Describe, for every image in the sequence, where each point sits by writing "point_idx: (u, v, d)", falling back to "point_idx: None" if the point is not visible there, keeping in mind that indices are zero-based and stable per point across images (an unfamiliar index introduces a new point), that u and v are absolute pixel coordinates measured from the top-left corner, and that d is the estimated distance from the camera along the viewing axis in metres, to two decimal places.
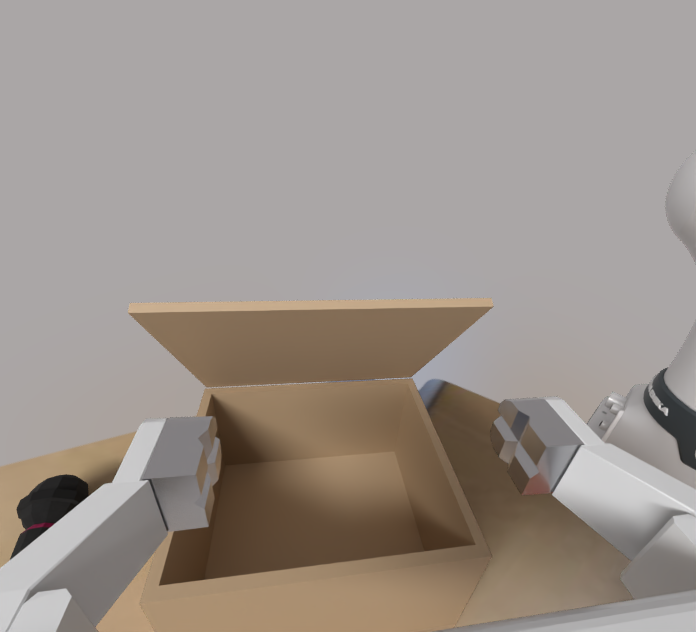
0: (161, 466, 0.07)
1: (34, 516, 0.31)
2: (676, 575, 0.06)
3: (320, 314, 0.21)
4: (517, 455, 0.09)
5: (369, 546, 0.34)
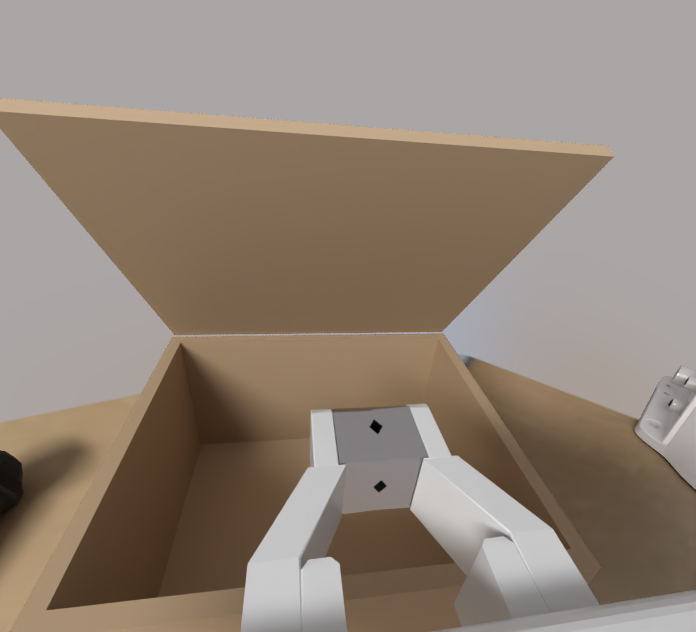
0: (350, 452, 0.07)
1: None
2: (483, 604, 0.06)
3: (332, 154, 0.13)
4: None
5: (388, 551, 0.25)
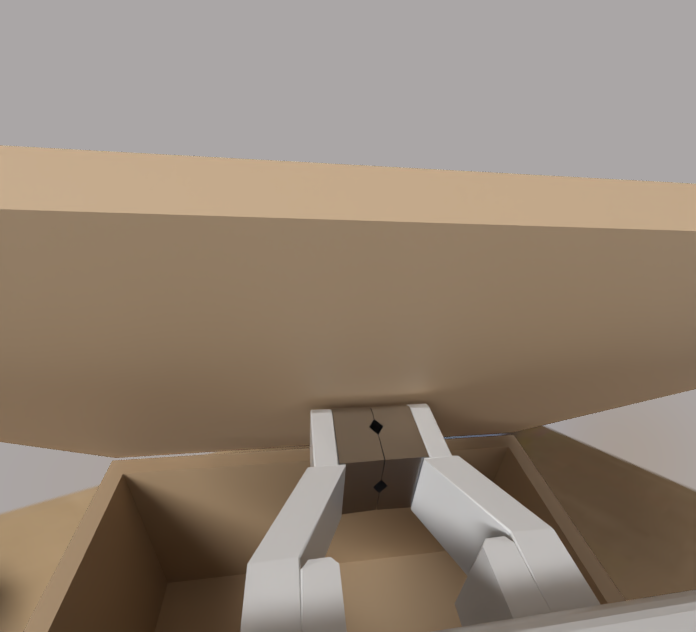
0: (350, 452, 0.07)
1: None
2: (484, 604, 0.06)
3: (447, 273, 0.03)
4: None
5: None
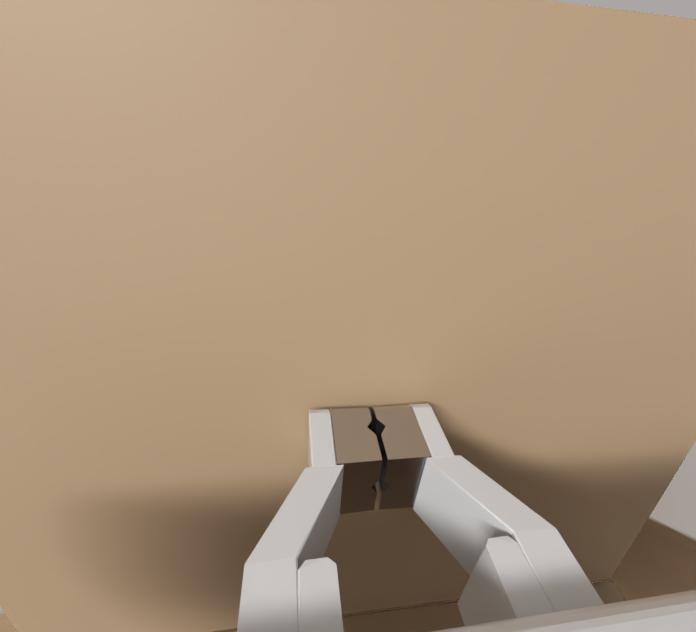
0: (348, 452, 0.07)
1: None
2: (487, 603, 0.06)
3: (398, 41, 0.06)
4: None
5: None
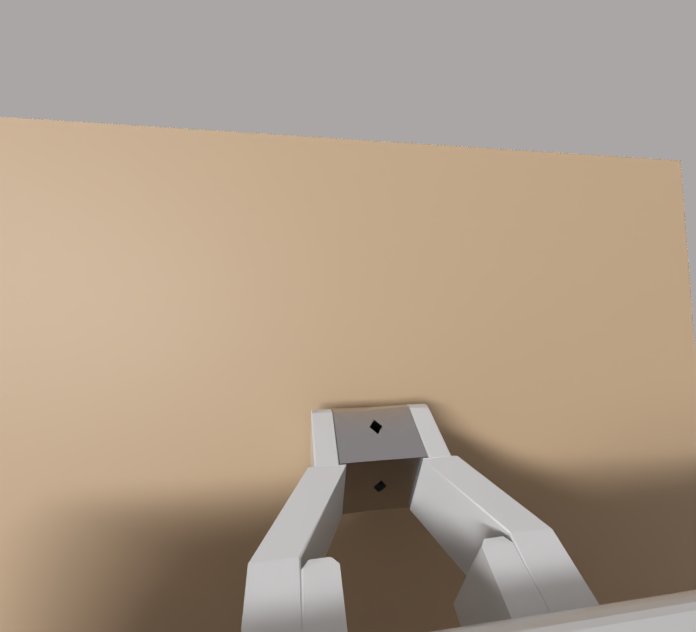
0: (351, 452, 0.07)
1: None
2: (482, 604, 0.06)
3: (355, 164, 0.10)
4: None
5: None
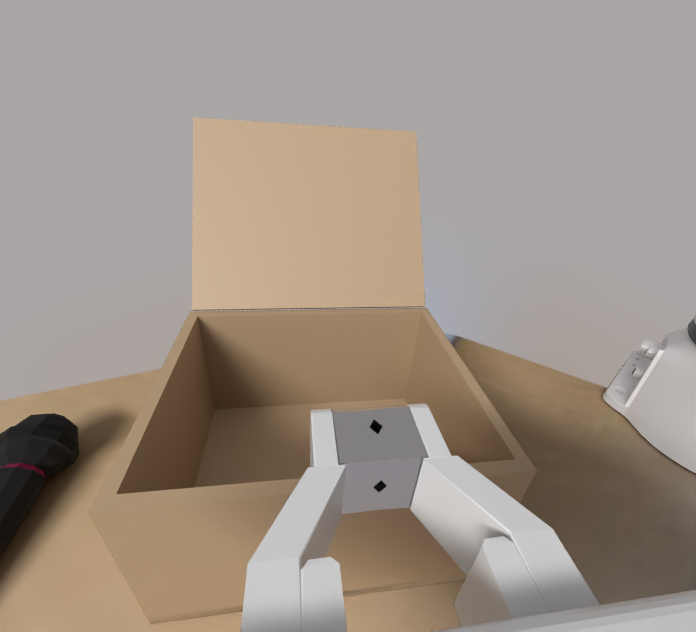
0: (350, 452, 0.07)
1: (9, 454, 0.26)
2: (483, 604, 0.06)
3: (307, 131, 0.34)
4: None
5: None
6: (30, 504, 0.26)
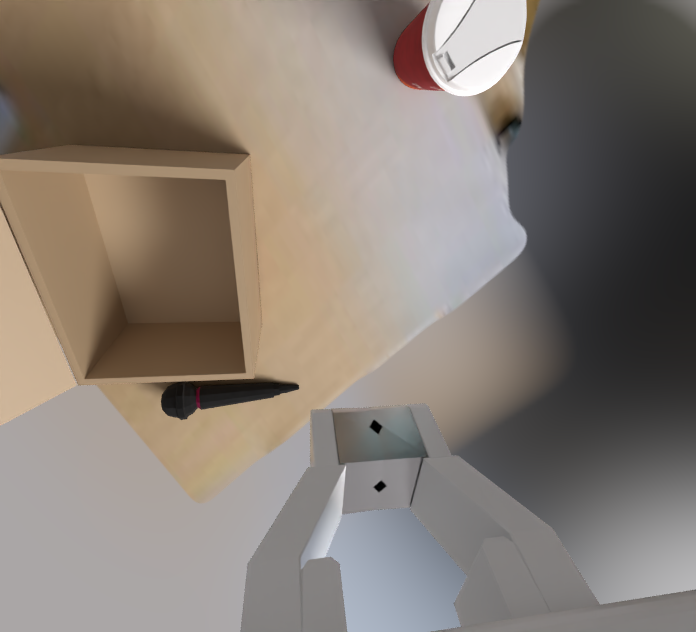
0: (350, 452, 0.07)
1: (192, 409, 0.50)
2: (483, 604, 0.06)
3: None
4: None
5: (193, 209, 0.40)
6: (213, 386, 0.52)
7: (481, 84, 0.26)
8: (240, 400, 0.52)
